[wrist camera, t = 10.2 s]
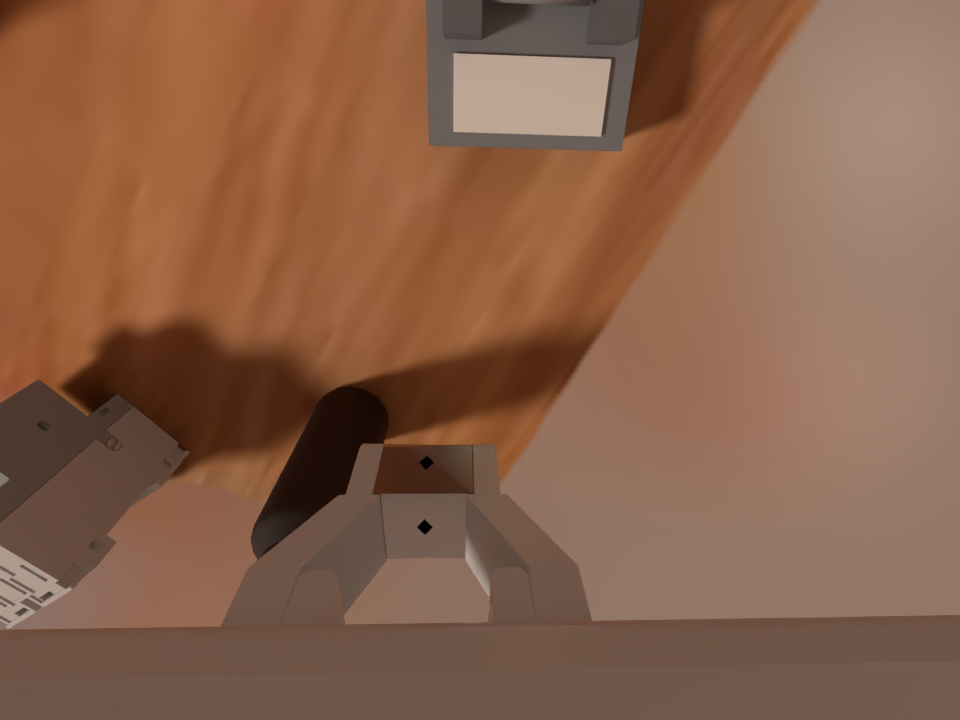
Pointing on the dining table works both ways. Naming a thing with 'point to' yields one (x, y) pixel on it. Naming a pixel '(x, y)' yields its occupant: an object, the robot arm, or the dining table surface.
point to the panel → (531, 73)
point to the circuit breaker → (68, 489)
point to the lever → (547, 2)
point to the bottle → (320, 463)
